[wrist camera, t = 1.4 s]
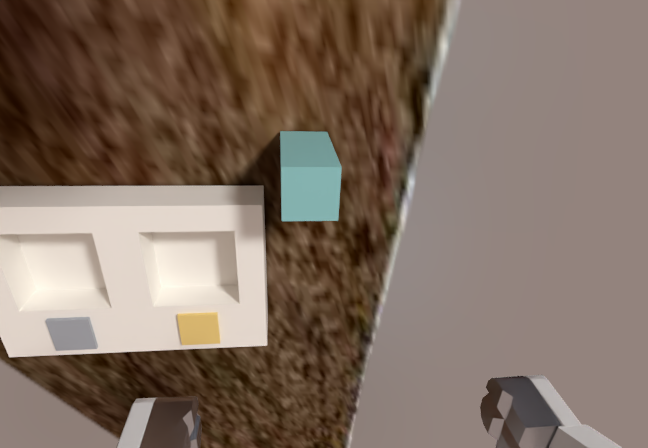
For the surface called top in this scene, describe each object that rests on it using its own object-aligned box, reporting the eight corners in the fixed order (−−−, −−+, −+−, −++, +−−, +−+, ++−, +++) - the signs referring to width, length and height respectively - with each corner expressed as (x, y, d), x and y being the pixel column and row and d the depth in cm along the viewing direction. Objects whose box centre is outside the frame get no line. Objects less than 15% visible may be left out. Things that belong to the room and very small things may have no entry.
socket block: (-22, 186, 29) (-61, 209, 25) (263, 185, 31) (262, 206, 28) (33, 326, 35) (7, 360, 31) (267, 317, 37) (267, 348, 34)
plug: (280, 131, 29) (281, 167, 22) (327, 131, 29) (341, 167, 23) (280, 175, 31) (281, 221, 24) (325, 175, 31) (338, 220, 24)
